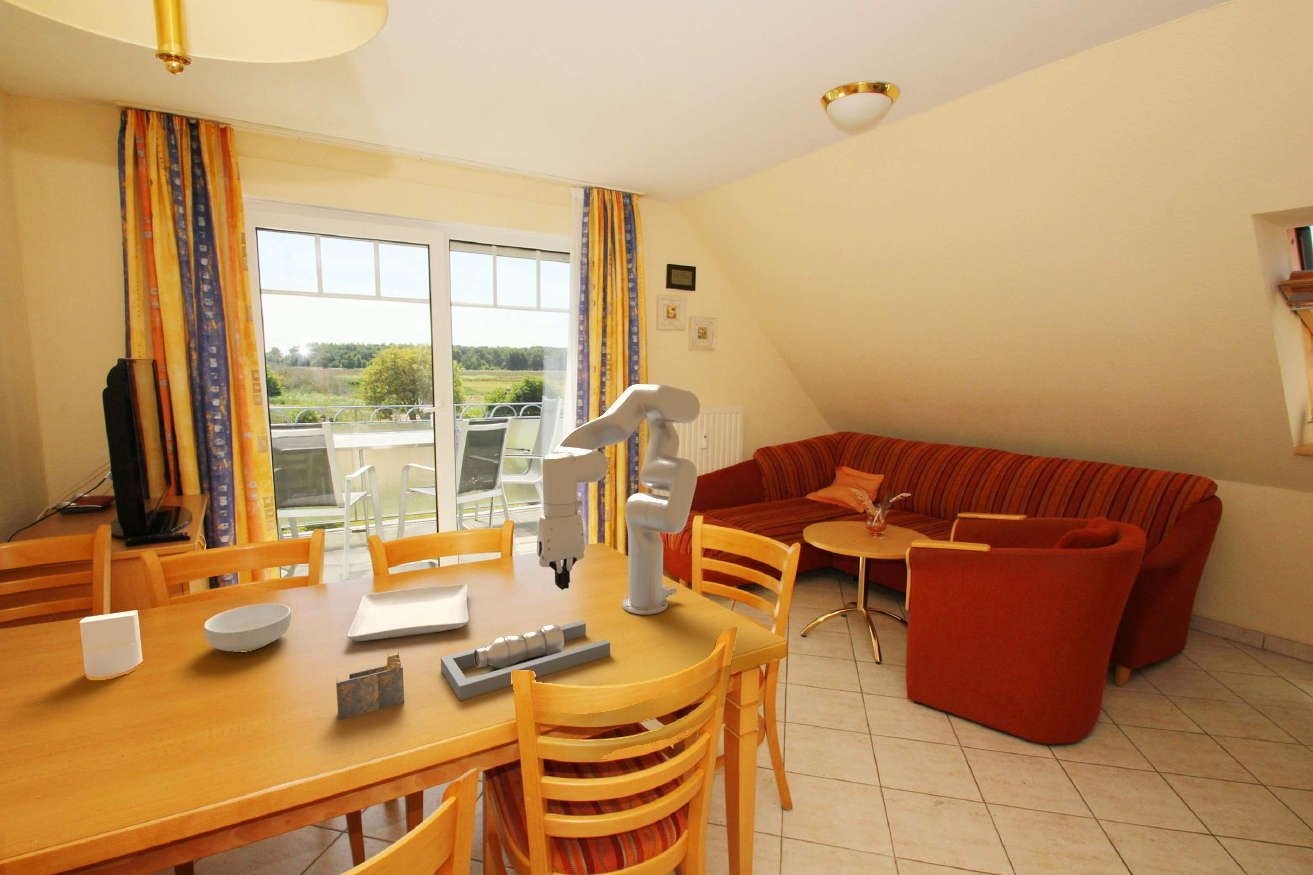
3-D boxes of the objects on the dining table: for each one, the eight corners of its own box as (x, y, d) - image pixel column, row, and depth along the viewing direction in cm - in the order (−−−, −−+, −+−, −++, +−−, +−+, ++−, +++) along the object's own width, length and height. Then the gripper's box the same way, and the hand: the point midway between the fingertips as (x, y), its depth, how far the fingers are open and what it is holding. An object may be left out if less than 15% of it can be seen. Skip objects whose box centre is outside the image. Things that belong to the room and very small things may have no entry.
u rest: (582, 632, 147) (582, 620, 146) (610, 655, 135) (610, 642, 135) (441, 670, 128) (440, 657, 127) (459, 700, 116) (459, 686, 116)
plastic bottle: (568, 627, 135) (481, 648, 123) (567, 656, 135) (481, 680, 124) (555, 618, 140) (471, 637, 128) (555, 646, 140) (471, 667, 129)
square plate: (467, 594, 171) (467, 581, 170) (469, 635, 145) (468, 620, 145) (364, 605, 162) (363, 591, 162) (346, 651, 137) (345, 635, 136)
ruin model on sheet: (402, 697, 118) (400, 650, 117) (404, 704, 116) (402, 657, 114) (337, 713, 112) (335, 665, 111) (338, 722, 110) (336, 672, 109)
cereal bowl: (302, 645, 139) (300, 616, 138) (215, 671, 126) (212, 639, 126) (280, 623, 150) (278, 596, 149) (199, 645, 138) (196, 616, 137)
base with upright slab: (78, 685, 120) (71, 628, 119) (94, 665, 128) (89, 612, 127) (135, 674, 125) (129, 620, 123) (148, 656, 132) (143, 604, 131)
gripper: (582, 500, 139) (584, 575, 142) (522, 510, 131) (525, 589, 134) (598, 507, 133) (599, 585, 136) (535, 517, 125) (538, 600, 127)
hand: (562, 587), depth 135 cm, fingers closed
